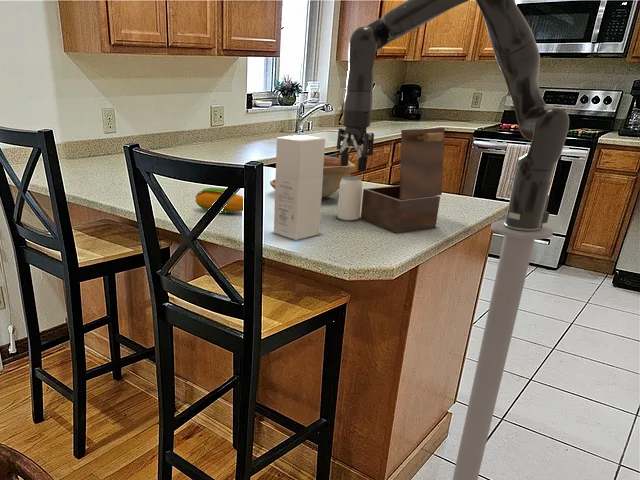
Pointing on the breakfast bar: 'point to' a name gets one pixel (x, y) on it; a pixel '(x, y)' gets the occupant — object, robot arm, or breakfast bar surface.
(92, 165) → the breakfast bar surface
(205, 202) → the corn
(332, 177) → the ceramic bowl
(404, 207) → the chest
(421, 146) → the chest lid
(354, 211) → the can
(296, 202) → the tall white carton
